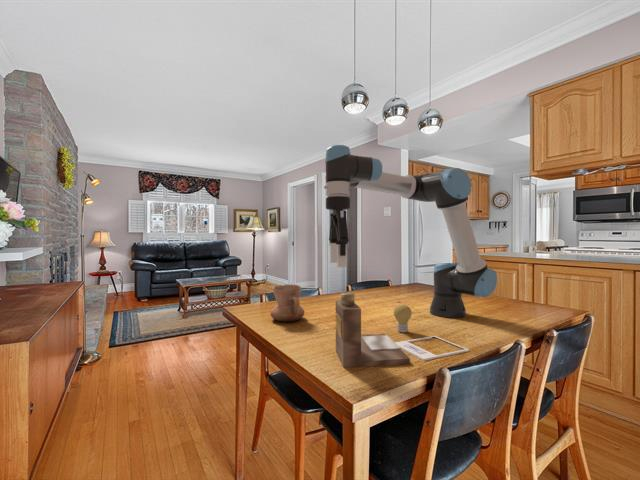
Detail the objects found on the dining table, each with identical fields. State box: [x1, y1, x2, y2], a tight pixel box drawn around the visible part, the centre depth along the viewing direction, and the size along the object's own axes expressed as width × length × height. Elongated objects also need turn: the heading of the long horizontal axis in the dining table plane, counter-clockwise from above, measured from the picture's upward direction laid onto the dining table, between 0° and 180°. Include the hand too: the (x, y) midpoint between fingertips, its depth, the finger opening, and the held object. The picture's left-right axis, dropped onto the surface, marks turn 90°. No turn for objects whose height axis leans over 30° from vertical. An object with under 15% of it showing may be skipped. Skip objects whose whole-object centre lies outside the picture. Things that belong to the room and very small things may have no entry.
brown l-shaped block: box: [335, 292, 411, 369], centre depth 97 cm, size 19×22×19 cm
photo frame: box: [394, 335, 470, 362], centre depth 100 cm, size 15×1×18 cm
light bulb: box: [393, 304, 413, 333], centre depth 117 cm, size 6×6×10 cm
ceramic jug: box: [269, 283, 305, 323], centre depth 133 cm, size 18×14×14 cm
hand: (337, 264), depth 98 cm, fingers open, 13 cm apart
